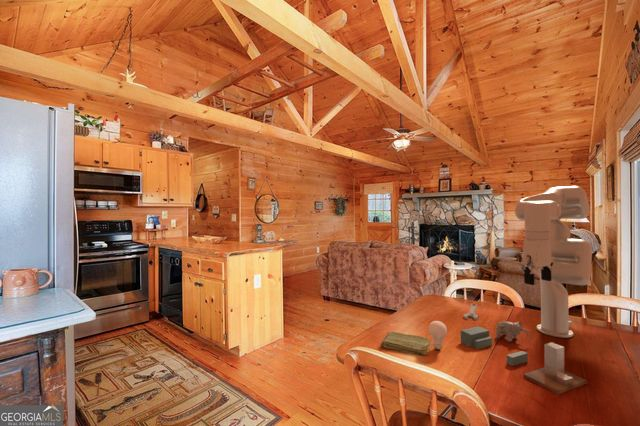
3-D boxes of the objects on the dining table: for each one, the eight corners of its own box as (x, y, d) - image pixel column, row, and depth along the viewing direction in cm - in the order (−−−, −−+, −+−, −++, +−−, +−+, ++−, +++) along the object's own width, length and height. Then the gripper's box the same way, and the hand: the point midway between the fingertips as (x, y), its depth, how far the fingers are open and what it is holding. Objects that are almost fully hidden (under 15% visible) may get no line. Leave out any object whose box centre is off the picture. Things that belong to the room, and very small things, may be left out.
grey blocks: (478, 338, 127) (478, 326, 127) (529, 361, 107) (529, 347, 107) (460, 342, 123) (460, 330, 123) (510, 366, 104) (510, 352, 104)
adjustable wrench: (471, 306, 170) (471, 303, 170) (484, 308, 166) (484, 305, 166) (462, 319, 149) (462, 315, 149) (476, 322, 146) (476, 318, 146)
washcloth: (427, 358, 112) (427, 349, 111) (380, 349, 119) (380, 341, 119) (430, 343, 123) (430, 335, 123) (387, 336, 131) (387, 329, 131)
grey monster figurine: (497, 333, 132) (496, 316, 132) (531, 338, 125) (529, 320, 125) (495, 341, 124) (493, 323, 125) (530, 347, 117) (528, 327, 117)
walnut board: (551, 367, 103) (551, 365, 103) (586, 383, 93) (586, 380, 93) (523, 377, 97) (523, 374, 97) (558, 394, 88) (558, 391, 88)
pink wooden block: (551, 372, 98) (551, 342, 98) (573, 382, 92) (573, 350, 92) (544, 375, 96) (544, 344, 96) (565, 385, 91) (565, 352, 91)
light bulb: (437, 354, 113) (437, 325, 113) (425, 347, 119) (424, 319, 119) (451, 351, 116) (450, 322, 115) (438, 344, 122) (437, 317, 121)
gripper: (541, 233, 117) (541, 276, 118) (511, 237, 110) (512, 283, 111) (563, 234, 110) (563, 281, 111) (532, 239, 103) (533, 288, 104)
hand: (538, 282), depth 111 cm, fingers open, 9 cm apart
